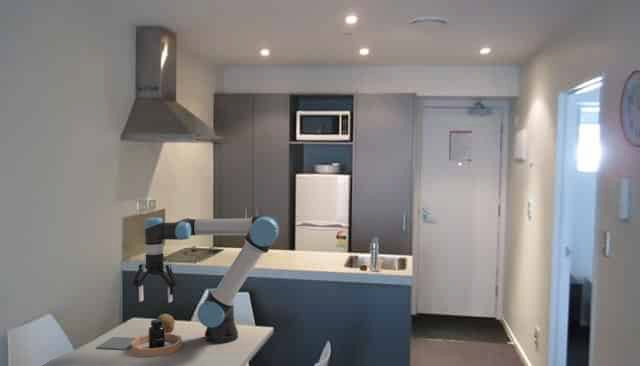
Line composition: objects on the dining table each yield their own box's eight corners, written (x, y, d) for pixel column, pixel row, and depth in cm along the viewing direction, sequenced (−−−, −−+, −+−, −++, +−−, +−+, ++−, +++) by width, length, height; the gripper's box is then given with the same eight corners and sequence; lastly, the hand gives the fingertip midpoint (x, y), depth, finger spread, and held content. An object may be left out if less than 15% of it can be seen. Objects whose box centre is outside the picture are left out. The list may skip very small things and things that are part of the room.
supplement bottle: (160, 350, 233) (159, 323, 233) (145, 349, 235) (145, 322, 234) (167, 345, 240) (167, 318, 240) (153, 344, 242) (153, 318, 241)
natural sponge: (158, 331, 259) (158, 311, 259) (177, 331, 259) (177, 311, 259) (153, 337, 250) (152, 316, 250) (172, 337, 250) (171, 316, 250)
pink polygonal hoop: (189, 340, 246) (188, 334, 246) (169, 357, 225) (169, 350, 225) (146, 338, 249) (145, 332, 249) (122, 354, 229) (122, 347, 229)
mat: (141, 339, 248) (141, 338, 248) (125, 350, 234) (125, 348, 234) (113, 338, 250) (113, 336, 250) (96, 348, 237) (96, 347, 237)
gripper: (184, 252, 237) (186, 299, 238) (132, 251, 241) (133, 298, 242) (177, 255, 230) (179, 304, 231) (123, 254, 234) (125, 302, 235)
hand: (155, 301), depth 237 cm, fingers open, 13 cm apart
